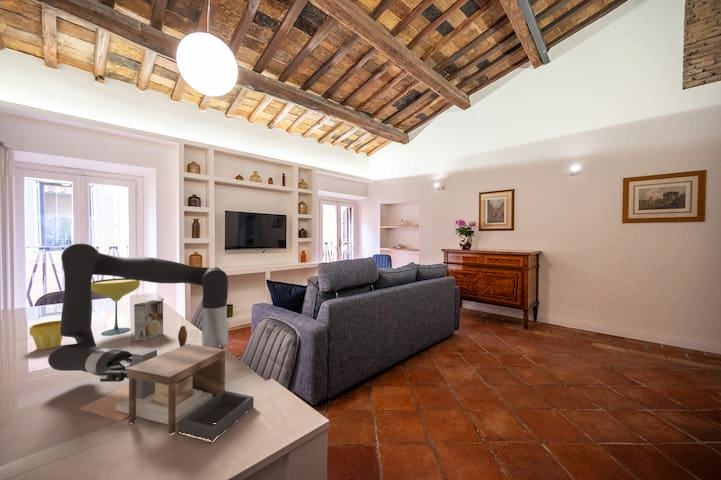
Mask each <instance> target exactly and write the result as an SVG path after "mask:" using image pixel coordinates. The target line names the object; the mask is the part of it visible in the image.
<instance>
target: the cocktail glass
mask: <svg viewBox="0 0 721 480" xmlns="http://www.w3.org/2000/svg"><path fill="white" fill-rule="evenodd" d="M140 285H141V281H140V280H134V279H128V278H123V277H119V278H108V279H99V280H94V281H91V292H93V293H95V294H97V295H100V296H103V297H106V298H109V299H111V301H113V302H115V303H114V305H115V308H114V309H115V311H114V312H115V313H114V314H115V319H114V327H113V328H111V329H108V330H104V331H102V332H101V336H106V335H107V336H115V334H117V335H121V334H120V333H122V334H125V333H128V332H130V331H131V328H130V327H119V326H118V324H119V323H118V301H120V300H121V299H122V298H123V297H124V296H126V295H128V294H130V293H132V292H134V291H135V290H137V289H138V288H140ZM129 330H130V331H129ZM127 331H128V332H127Z"/></svg>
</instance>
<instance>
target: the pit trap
mask: <svg viewBox="0 0 721 480" xmlns="http://www.w3.org/2000/svg"><path fill="white" fill-rule="evenodd" d="M254 398H255V397H254V396H251V395H248V394H243V393H238V392H233V391H227V390H225V391H222V392H221V393H219V394H218V395H217V396H215V397H214V398H212V399H211V400H209V401H208V402H206V403H205V404H203V405H202V406H200V407H199V408H197V409H196V410H194V411H193V412H191V413H190V414H188V415H187V416H186V417H184V418H183V419H181V420H180V421H179V422H178V433H179V432H181V433H185V434H190V435H193V436H196V437H201V438H205V439H209V440H211V441H213V440H214V439H215V438H216V437H217V436H219V435H220V434H222V433H223V432H224V431H225V430H227V429H228V428H229V429H231V428H232V427H233V426H234V425H235V424H236V423H237V422H238V421H237V420H239V419H240V418H241V417H242V416H243V415H244V414H245V413H246V412H247V411H249V410H250V409H251V408H252V407H253V408H254ZM253 408H252V409H253ZM252 409H251V410H252ZM251 410H250V411H251ZM250 411H249V412H250ZM244 416H245V415H244ZM244 416H243V417H244ZM243 417H242V418H243ZM242 418H241V419H242ZM241 419H240V420H241ZM236 421H237V422H236ZM235 422H236V423H235ZM213 423H216V424H213ZM234 423H235V424H234ZM233 424H234V425H233ZM232 425H233V426H232ZM231 426H232V427H231ZM230 427H231V428H230ZM229 429H228V430H229ZM228 430H227V431H228Z"/></svg>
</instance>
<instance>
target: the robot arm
mask: <svg viewBox="0 0 721 480" xmlns="http://www.w3.org/2000/svg"><path fill="white" fill-rule="evenodd" d="M61 263H62V267H63V274H64V275H63V276H64V293H63V301H62V310H61V317H60V321H61V327H60V334H61V336H63V337H64V338H65V337H66V338H73V339H74V340H75V341H76V343H70V344H64V345H63V344H61V345H60V346H58V347H55V348H53V350H52V351H51V352H50V354H49V355H48V359H47V362H48V365H49V367H51V368H52V369H53V370H56V371H62V372H63V371H66V372H67V371H69V372H70V371H72V372H73V371H77V372H78V371H81V372H85V373H89V374H92V375H94V376H99V381H100V382H101V383H102V382H104V383H105V382H106V383H107V382H112V383H113V382H114V383H116V382H117V383H118V382H124V381H125V379H128V380H129V377H127V368H129V367H131V366H132V352H130V351H128V350H122V349H117V348H110V347H108V348H107V347H106V348H105V347H99V346H97V344H96V340H95V338H94V335H93V329H92V318H93V317H92V316H93V298H92V290H91V283H92V279H93V276H94V275H95V276H110V277H119V278H128V279H134V280H140V282H148V283H157V284H190V285H195V286H200V287H202V303H201V304H202V305H201V307H202V308H201V309H202V310H201V311H202V312H201V315H202V317H201V319H202V320H201V321H202V322H201V323H202V324H201V346H206V347H212V348H219V349H223V348H225V347H227V344H229V322H228V321H227V317H228V316H227V311H228V310H227V309H228V308H227V306H228V303H227V302H228V295H229V294H228V293H229V290H228V289H229V286H228V285H229V280H228V275H227V273H226V272H225V271H224V270H222V269H221V268H218V267H204V266H194V265H188V264H185V263H182V262H181V263H180V262H178V261H173V260H168V259H163V258H156V257H148V256H132V257H131V256H130V257H129V256H128V257H125V256H123V257H122V256H115V255H112V254H111V255H110V254H105V253H102V252H101V253H100V252H99V251H98V249H97V248H95V246H93V245H90V244H88V243H83V242H79V243H73V244H71V245H69V246H68V247H66V248H65V249H64V250H63V251H62V253H61ZM219 345H220V346H221V347H222V348H221V347H220V346H219ZM136 379H137V378H136Z"/></svg>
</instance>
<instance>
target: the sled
mask: <svg viewBox="0 0 721 480" xmlns="http://www.w3.org/2000/svg"><path fill="white" fill-rule="evenodd" d="M131 354H132V366H134V365H136V364H139V363H141V362H144V361H146V360H149V359H151V358H154V357H156V356H158V349H154V348H148V347H146V348H144V349H141V350H138V351H135V352H131ZM212 398H213V394H211V393H207V392H202V391H201V390H196V389H192V396H190V397H188V398H187V399H185V400H183V401H182V402H180V403H179V404H177V405H176V411H175V425H177V424H179V421H180V420H181V419H183V418H184V417H186V416H187V415H188V414H190V413H191V412H193V411H194V410H196V409H197V408H199V407H200V406H202V405H203V404H205V403H206V402H208V401H209V400H211V399H212ZM116 411H119V412H123V413H127V414H129V398H128V399H126V400H124V401H122V402H120V403H118V404H116ZM136 417H138V418H141V419H146V420H149V421H153V422H157V423H161V424H165V425H168V407H166V406H162V405H158V404H155V382H150V381H146V380H141V379H136Z"/></svg>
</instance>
